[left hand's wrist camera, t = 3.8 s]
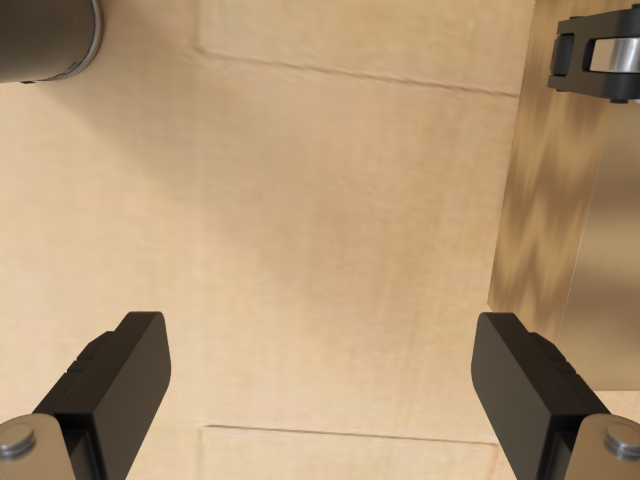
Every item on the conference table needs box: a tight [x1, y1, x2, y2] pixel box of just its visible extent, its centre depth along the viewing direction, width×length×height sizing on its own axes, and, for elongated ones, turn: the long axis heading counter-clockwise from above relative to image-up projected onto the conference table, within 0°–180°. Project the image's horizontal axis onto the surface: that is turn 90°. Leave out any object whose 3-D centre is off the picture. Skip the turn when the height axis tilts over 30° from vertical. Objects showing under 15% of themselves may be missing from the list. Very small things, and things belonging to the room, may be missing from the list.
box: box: [487, 0, 640, 391], centre depth 25 cm, size 20×6×9 cm, turn 0°
